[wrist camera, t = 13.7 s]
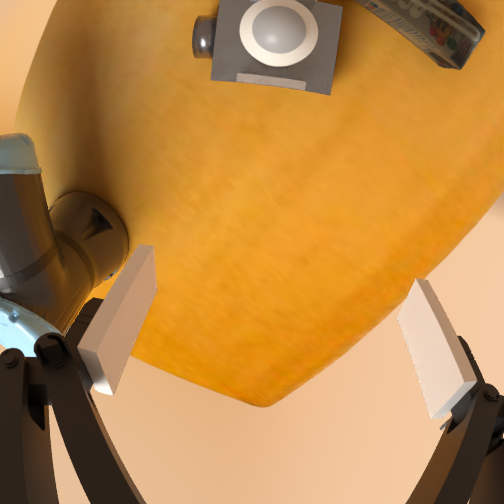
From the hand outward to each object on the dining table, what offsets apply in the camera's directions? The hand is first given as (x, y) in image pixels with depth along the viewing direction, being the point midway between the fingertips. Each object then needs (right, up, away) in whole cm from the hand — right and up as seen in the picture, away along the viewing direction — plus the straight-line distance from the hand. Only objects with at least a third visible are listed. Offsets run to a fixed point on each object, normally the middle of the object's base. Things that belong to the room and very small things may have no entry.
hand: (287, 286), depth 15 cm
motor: (0, +25, +16) cm, 30 cm away
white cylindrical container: (+1, +22, +11) cm, 25 cm away
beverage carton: (+16, +32, +11) cm, 37 cm away
